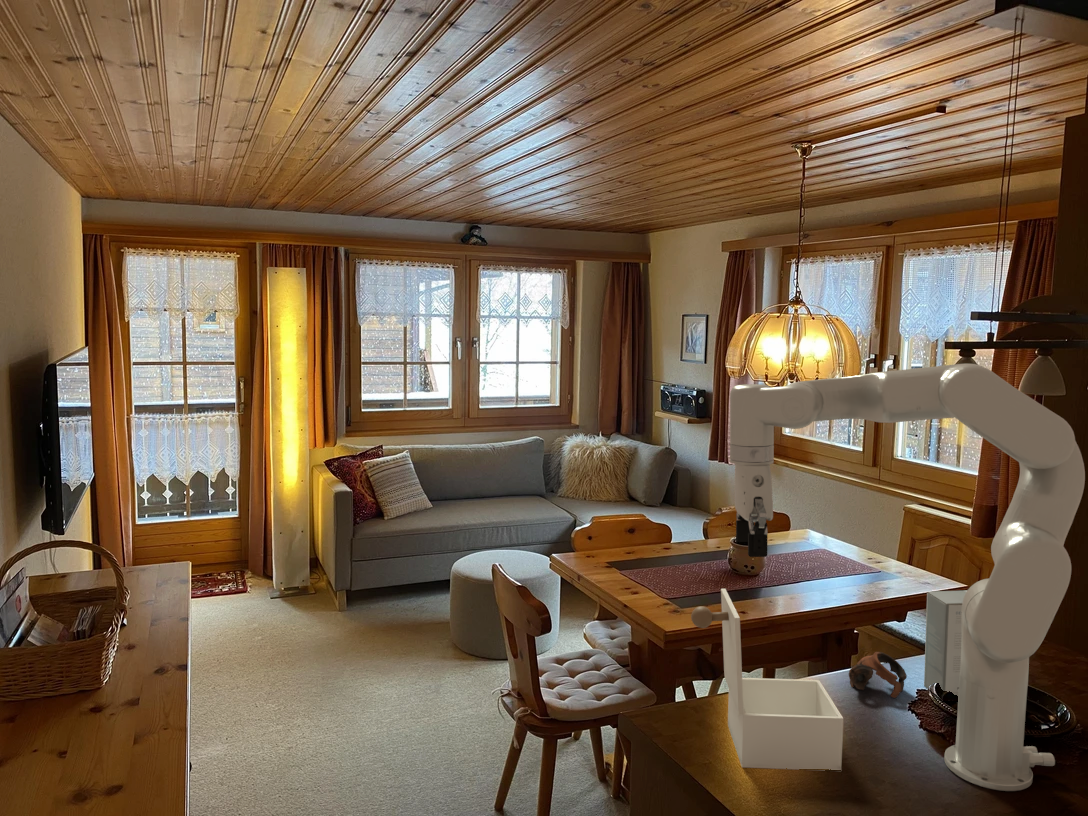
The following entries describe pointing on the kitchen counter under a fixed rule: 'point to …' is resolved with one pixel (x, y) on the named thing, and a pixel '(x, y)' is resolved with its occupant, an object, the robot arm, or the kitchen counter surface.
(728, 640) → the carton lid
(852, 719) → the kitchen counter surface
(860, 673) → the broken clay pot
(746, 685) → the carton
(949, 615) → the hard drive box
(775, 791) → the kitchen counter surface
